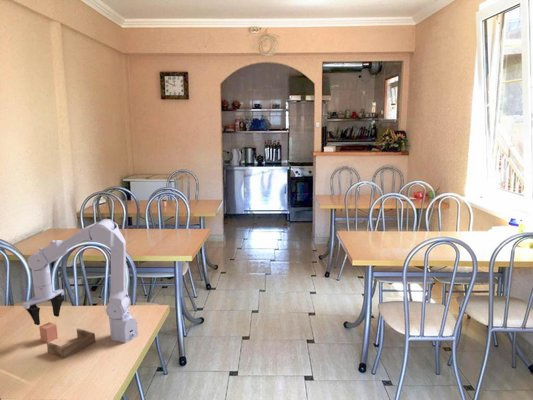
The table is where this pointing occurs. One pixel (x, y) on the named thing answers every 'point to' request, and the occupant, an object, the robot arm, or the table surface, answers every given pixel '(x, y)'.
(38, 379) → the table surface
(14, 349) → the table surface
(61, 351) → the box
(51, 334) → the block
